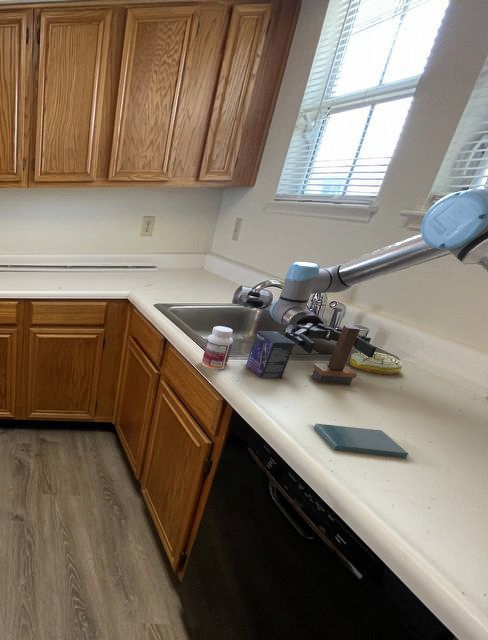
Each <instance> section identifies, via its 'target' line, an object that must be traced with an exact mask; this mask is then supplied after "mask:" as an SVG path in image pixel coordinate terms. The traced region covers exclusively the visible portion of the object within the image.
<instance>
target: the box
mask: <svg viewBox="0 0 488 640" xmlns="http://www.w3.org/2000/svg"><path fill="white" fill-rule="evenodd" d="M295 346H296V343H295V342H293V341H291V340H289V339H288V338H286V337H285V336H284V334H282V333H280V332H279V331H273V330H258V331H256V334H255V337H254V340H253V343H252V346H251V348H250V352H249V354H248V358H247V361H246V364H245V367H247V368H248V369H249V370H250V371H251V372H253V373H254V374H255V375H256V376H257V377H259V378H261V379H283V375H284V373H285V371H286V368H287V365H288V362H289V359H290V357H291V355H292V352H293V350H294V348H295Z"/></svg>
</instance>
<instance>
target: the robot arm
mask: <svg viewBox="0 0 488 640" xmlns="http://www.w3.org/2000/svg"><path fill="white" fill-rule="evenodd" d="M452 255H453V256H454V257H455V258H456V259H457V260H458V261H459V262H461V263H462V264H463V265H464V266H480V267H481V268H482V269H483V270H484V271H485V272H487V273H488V189H482V188H472V189H471V188H470V189H467V190H461V191H457V192H453V193H450V194H448V195H445V196H444V197H442V198H440V199H439V200H438V201H436V202H435V203H434V204H433V205H432V206H430V208H429V209H428V211H426V213H425V214H424V216H423V218H422V222H421V225H420V233H419V234H417V235H415V236H414V235H413V236H411V237H408V238H406V239H404V240H401V241H398V242H395V243H392V244H390V245H388V246H385V247H382V248H379V249H377V250H374V251H371V252H369V253H366V254H364V255H361V256H358V257H355V258H352V259H349V260H347V261H344V262H342V263H339V264H337V265H334V266H331V267H325V268H321V267H320V265H319V264H317V263H313V262H305V261H295V262H292V263H290V265H289V267H288V270H287V273H286V275H285V279H284V281H283V285H282V289H281V292H280V295H279V297H278V299H276V300H275V301H274V302H273V303H272V304H271V306H270V308H269V315H270V316H271V318H272V319H273V320H274V321H275V322H276V323H277V324H279V325H281V326H282V327H283V328H284V329H283V333H284V334H283V336H285V337H286V338H288V339H289V340H291V341H293V342H295V345H297V346H299V347H300V348H301V349H303V350H304V352H306V353H308V354H312V351H313V349H314V346H315V345H316V343H315V342H314V341H312V340H311V339H313V338H314V339H317V340H318V339H320V340H324V341H327V342H330V341H334V342H337V341H338V339H339V336H340V334H341V331H342V329H343V327H341V326H337V325H336V326H334V327H332V326H331V327H330V326H327V325H325V323H324V320H323V319H322V317H320V316H319V315H318V314H316V313H314V312H312V311H311V310H309V309H307V306H308V303H309V300H310V299H311V295H314V294H315V295H316V294H329V293H332V294H333V293H335V294H336V293H340V292H341V293H342V292H345V291H349V289H351V288H352V287H353V286H356V285H360V284H363V283H366V282H370V281H373V280H376V279H379V278H383V277H385V276H388V275H392V274H395V273H398V272H402V271H405V270H408V269H411V268H414V267H418V266H421V265H424V264H427V263H430V262H433V261H436V260H439V259H440V260H441V259H443V258H446V257H450V256H452ZM327 336H328V337H327ZM371 340H372V338H371V337H368V336H367V335H363V334H358V336H357V338H356V341H355V343H354V345H353V349H355V350H356V351H358V352H361V353H363V354H364V355H366V356H367V357H370V358H372V357H373V355H374V353H375V352H376V351H377V347H376V346H375V345H373V344H371Z"/></svg>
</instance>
